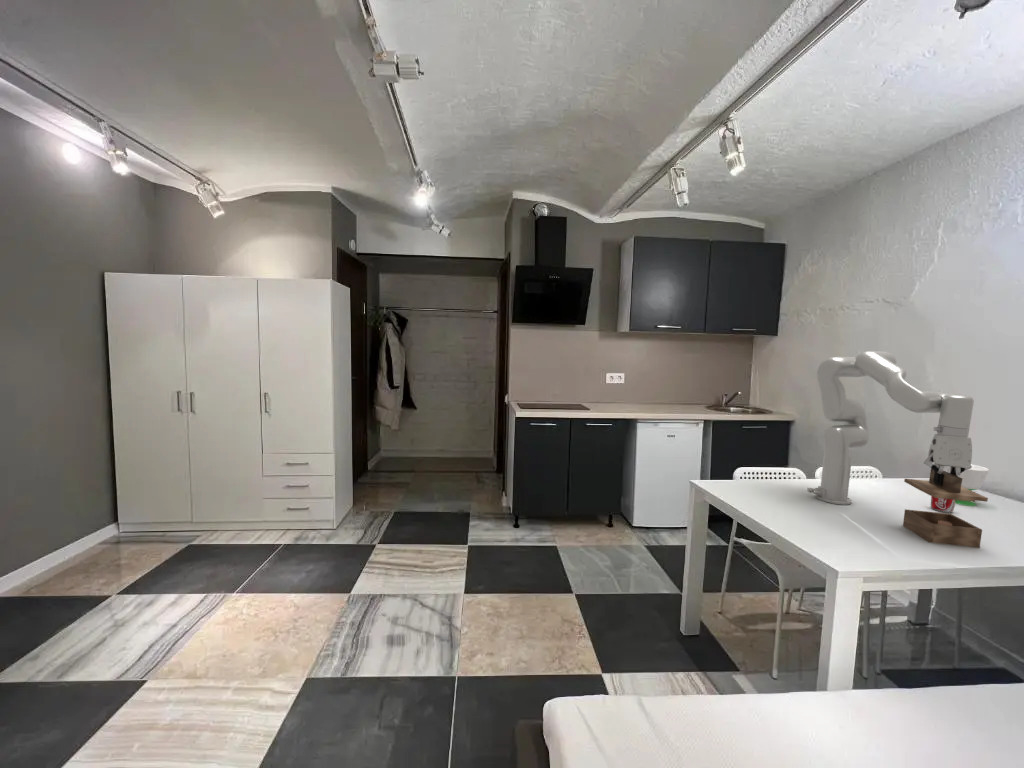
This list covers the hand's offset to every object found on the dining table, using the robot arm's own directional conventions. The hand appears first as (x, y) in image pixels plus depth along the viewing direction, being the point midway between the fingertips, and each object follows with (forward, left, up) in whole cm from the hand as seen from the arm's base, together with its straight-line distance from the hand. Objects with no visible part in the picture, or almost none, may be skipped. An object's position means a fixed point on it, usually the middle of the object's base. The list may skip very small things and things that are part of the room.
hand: (944, 484), depth 156 cm
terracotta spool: (+3, +3, -18) cm, 18 cm away
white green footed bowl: (+37, +49, -19) cm, 64 cm away
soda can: (+21, +34, -19) cm, 44 cm away
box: (0, 0, -19) cm, 19 cm away
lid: (0, 0, -2) cm, 2 cm away
